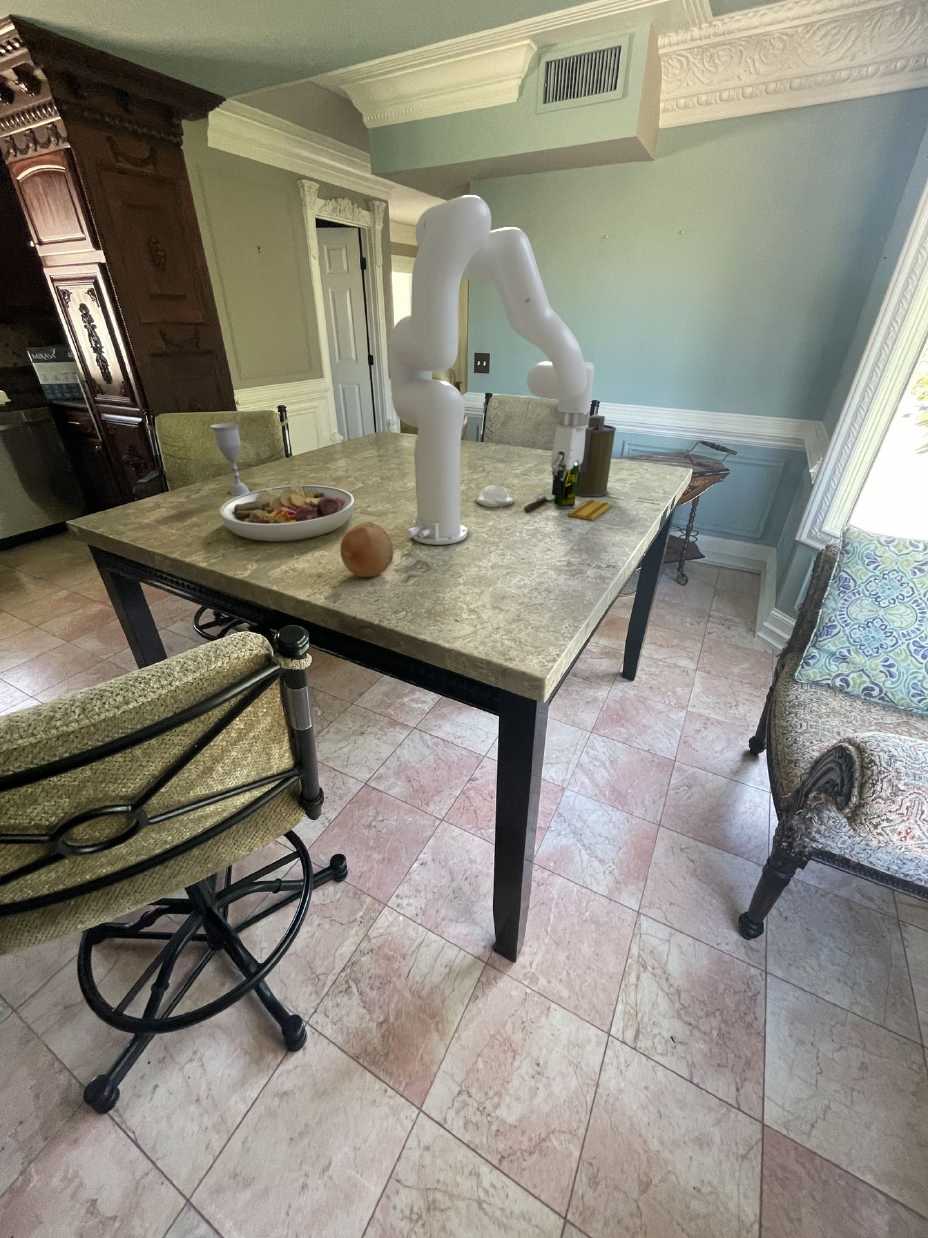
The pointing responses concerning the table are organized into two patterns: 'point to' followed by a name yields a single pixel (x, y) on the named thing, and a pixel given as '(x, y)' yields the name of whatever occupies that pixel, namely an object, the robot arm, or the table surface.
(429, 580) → the table surface
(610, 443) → the canister
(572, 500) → the beer can
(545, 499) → the spatula
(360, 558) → the onion
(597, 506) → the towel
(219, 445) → the chalice
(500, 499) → the rose
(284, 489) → the bowl
